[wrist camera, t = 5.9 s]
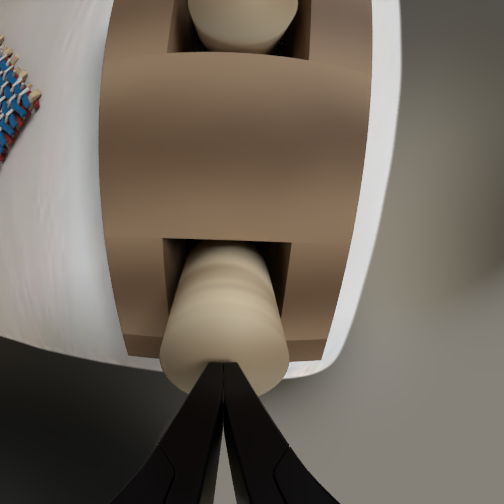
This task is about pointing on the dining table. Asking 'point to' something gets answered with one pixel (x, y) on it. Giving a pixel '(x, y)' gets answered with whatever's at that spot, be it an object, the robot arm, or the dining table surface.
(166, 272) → the socket block
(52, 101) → the dining table surface
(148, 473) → the robot arm
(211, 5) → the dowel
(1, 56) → the woven mat
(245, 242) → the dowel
